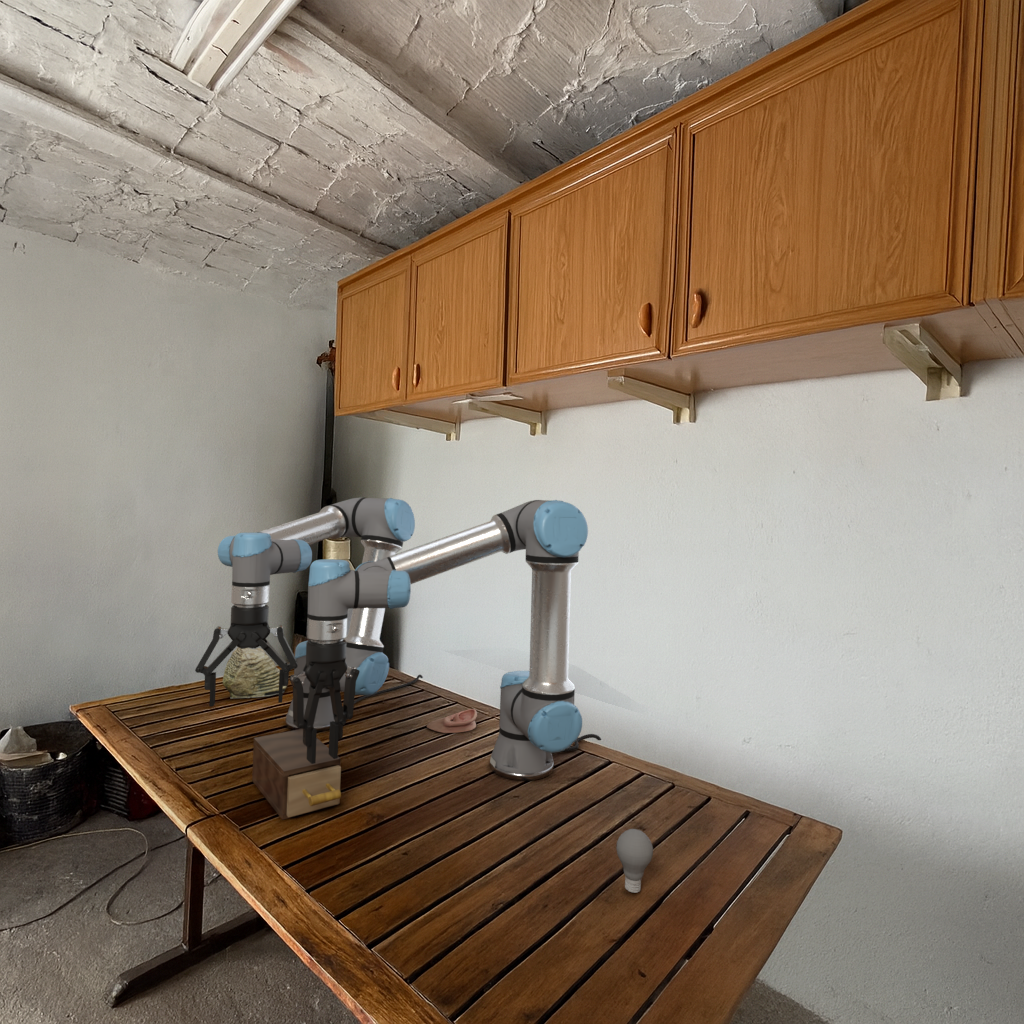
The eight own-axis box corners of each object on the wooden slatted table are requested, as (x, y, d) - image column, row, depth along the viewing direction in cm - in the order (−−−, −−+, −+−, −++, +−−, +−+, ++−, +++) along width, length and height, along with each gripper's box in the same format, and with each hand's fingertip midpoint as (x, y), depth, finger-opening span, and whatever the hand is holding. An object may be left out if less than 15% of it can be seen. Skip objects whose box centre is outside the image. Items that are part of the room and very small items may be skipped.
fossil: (218, 695, 195) (220, 647, 195) (278, 685, 208) (279, 640, 207) (228, 703, 189) (230, 653, 188) (289, 692, 201) (290, 645, 201)
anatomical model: (423, 716, 174) (436, 703, 185) (422, 730, 174) (436, 716, 185) (470, 721, 171) (480, 708, 182) (469, 736, 171) (480, 722, 182)
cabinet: (338, 804, 131) (340, 758, 131) (282, 820, 124) (284, 771, 123) (304, 769, 147) (305, 727, 147) (252, 781, 140) (253, 737, 139)
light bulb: (610, 879, 108) (613, 822, 108) (644, 879, 109) (647, 822, 109) (619, 902, 102) (622, 840, 102) (655, 901, 103) (658, 840, 103)
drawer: (351, 815, 125) (352, 777, 125) (298, 830, 118) (300, 790, 118) (306, 770, 144) (307, 737, 144) (259, 780, 138) (260, 746, 137)
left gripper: (182, 608, 129) (179, 712, 129) (311, 606, 136) (307, 704, 137) (188, 602, 136) (185, 700, 136) (310, 601, 144) (307, 694, 144)
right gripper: (289, 648, 115) (285, 775, 115) (375, 638, 125) (370, 756, 126) (276, 639, 121) (272, 761, 121) (359, 631, 131) (354, 743, 132)
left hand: (246, 702), depth 137 cm, fingers open, 13 cm apart
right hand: (322, 758), depth 124 cm, fingers open, 4 cm apart
